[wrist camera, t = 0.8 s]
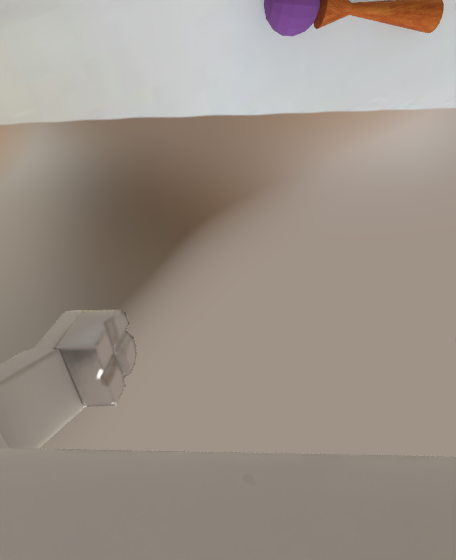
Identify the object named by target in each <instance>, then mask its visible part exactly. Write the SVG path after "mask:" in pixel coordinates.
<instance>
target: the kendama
mask: <svg viewBox="0 0 456 560" xmlns="http://www.w3.org/2000/svg"><path fill="white" fill-rule="evenodd" d="M443 5H444V4H443V1H442V0H396V1H376V2H357V3H351V2H350V1H349V0H264V8H265V14H266V19H267V21H268V22H269V24H270V25H271V27H272V28H273V30H274V31H276V32H278V33H279V34H281V35H282V36H294V35H297V34H300V33H302V32H304V31H306V30H307V29H308V28H309V27H310V26H311V25H312V24H313V22H314V27H315V28H316V29H318V28H320V27H322V26H325V25H327V24H329V23H331V22H334V21H336V20H338V19H340V18H343V17H345V16H347V15H352V16H357V17H361V18H365V19H370V20H374V21H378V22H382V23H387V24H391V25H395V26H400V27H404V28H408V29H412V30H417V31H421V32H425V33H431V32H432V31H434V30H435V29H436V27H437V26H438V24H439V22H440V20H441V18H442V14H443Z"/></svg>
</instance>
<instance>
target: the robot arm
mask: <svg viewBox="0 0 456 560" xmlns="http://www.w3.org/2000/svg"><path fill="white" fill-rule="evenodd" d="M128 325H129V321H128V318H127V315H126V312H124V311H123V310H86V311H85V310H75V311H67V312H64V313H63V314H62V315H61V316H60V318H59V319H58V320H57V321H56V322H55V323H54V325H53V326H52V327H51V328H50V329H49V331H48V332H47V333H46V334H45V335H44V336H43V338H42V339H41V340H40V341H39V342H38V344H37V345H36V346H35V347H34V348H33V349H32V350H25V351H23V352H21V353H20V354H18V355H16V356H14V357H12V358H10V359H8V360H7V361H5V362H3V363H1V364H0V560H456V457H443V456H442V457H441V456H397V455H395V456H394V455H350V454H294V453H293V454H292V453H240V452H239V453H237V452H235V453H234V452H185V451H182V452H181V451H132V450H78V449H76V450H75V449H39V448H40V447H41V446H42V445H43V444H44V443H45V442H46V441H48V440H49V439H50V438H51V437H52V436H53V435H54V434H55V433H56V432H58V431H59V430H60V429H61V428H62V427H63V426H64V425H65V424H67V423H68V422H69V421H70V420H71V419H72V418H73V417H74V416H76V415H77V414H78V413H79V412H80V411H81V410H82V409H83V407H86V406H87V407H89V406H116V405H117V403H118V401H119V398H120V396H121V394H122V392H123V390H124V388H125V382H124V378H125V377H126V376H127V375H129V374H130V373H131V372H132V370H133V368H134V365H135V360H136V344H135V341H134V337H133V336H132V335H131V334H129V333H128V332H127V331H126V329H127V327H128Z"/></svg>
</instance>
